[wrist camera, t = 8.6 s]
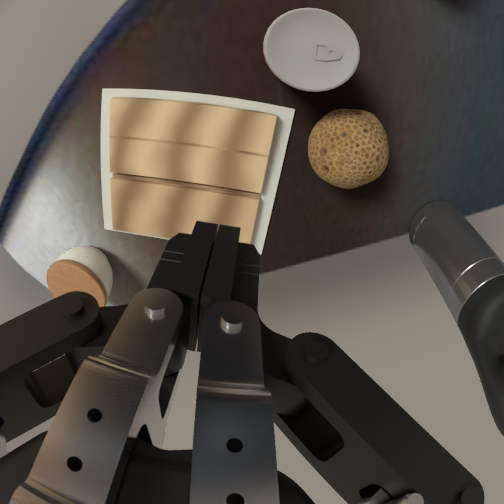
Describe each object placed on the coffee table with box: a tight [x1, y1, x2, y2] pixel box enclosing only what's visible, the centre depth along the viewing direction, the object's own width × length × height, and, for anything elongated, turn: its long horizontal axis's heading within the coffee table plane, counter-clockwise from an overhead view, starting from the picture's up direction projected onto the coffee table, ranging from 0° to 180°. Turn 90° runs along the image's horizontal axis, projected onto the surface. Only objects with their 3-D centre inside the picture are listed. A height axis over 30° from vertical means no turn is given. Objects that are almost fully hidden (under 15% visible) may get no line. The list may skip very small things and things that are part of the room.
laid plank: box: [110, 173, 260, 244], centre depth 41 cm, size 20×8×1 cm, turn 80°
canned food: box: [263, 8, 360, 92], centre depth 25 cm, size 8×8×11 cm
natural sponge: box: [308, 109, 389, 189], centre depth 31 cm, size 9×9×10 cm
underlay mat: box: [101, 89, 295, 254], centre depth 39 cm, size 24×21×1 cm
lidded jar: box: [47, 246, 113, 307], centre depth 44 cm, size 11×11×9 cm
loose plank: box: [109, 97, 277, 193], centre depth 35 cm, size 20×10×1 cm, turn 80°
